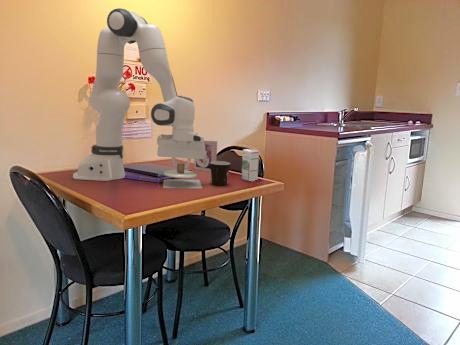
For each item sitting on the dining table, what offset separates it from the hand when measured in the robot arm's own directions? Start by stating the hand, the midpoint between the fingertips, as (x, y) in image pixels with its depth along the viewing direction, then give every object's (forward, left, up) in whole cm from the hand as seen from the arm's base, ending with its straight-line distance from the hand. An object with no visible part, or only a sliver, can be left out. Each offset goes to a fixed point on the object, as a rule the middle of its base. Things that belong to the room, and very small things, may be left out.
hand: (180, 168), depth 168 cm
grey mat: (+1, +1, -8) cm, 8 cm away
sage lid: (0, 0, -3) cm, 3 cm away
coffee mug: (+16, 0, -8) cm, 18 cm away
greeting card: (+15, +36, -8) cm, 40 cm away
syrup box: (+33, +13, -8) cm, 36 cm away
